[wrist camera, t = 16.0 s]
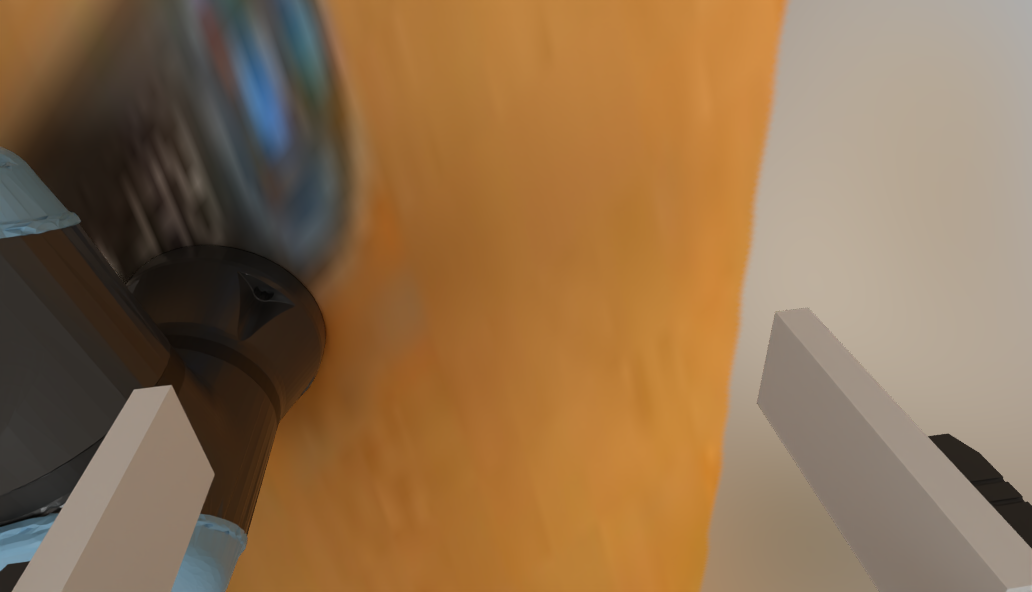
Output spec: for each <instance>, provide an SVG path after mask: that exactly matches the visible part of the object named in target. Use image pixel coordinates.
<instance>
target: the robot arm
mask: <svg viewBox="0 0 1032 592" xmlns="http://www.w3.org/2000/svg"><path fill="white" fill-rule="evenodd" d="M80 222H81V220H80V219H79V217H78V216H77V215H76V214H75V213H74V212H70V211H68V210H67V209H66V208H65V206H64V205H63V204H62V203H61V202H60V201H59V200H58V199H57V197H56V196H55V195H54V194H53V193H52V192H51V191H50V189H49V188H48V187H47V186H46V185H45V184H44V183H43V182H42V180H41V179H40V178H39V177H38V176H37V175H36V173H35V172H34V171H33V170H32V169H31V167H30V166H29V165H28V164H27V163H26V162H25V161H24V160H23V159H22V158H20V157H19V156H18V155H16V154H15V153H13V152H11V151H10V150H8V149H5V148H3V147H0V592H225V591H226V589H227V587H228V584H229V582H230V579H231V576H232V573H233V571H234V568H235V565H236V563H237V560H238V557H239V556H240V555H241V553H242V552H243V551H244V550H245V548H246V544H247V534H248V531H249V527H250V523H251V520H252V516H253V513H254V509H255V506H256V502H257V498H258V495H259V491H260V488H261V484H262V481H263V477H264V473H265V470H266V466H267V463H268V459H269V456H270V452H271V448H272V445H273V441H274V438H275V434H276V430H277V427H278V424H279V421H280V420H281V419H282V418H283V417H284V415H285V414H286V413H287V412H288V410H289V409H290V408H291V407H292V406H293V404H294V403H295V402H296V401H297V400H298V399H299V398H300V397H301V396H302V395H303V394H304V393H305V391H306V390H307V389H308V388H309V387H310V385H311V384H312V382H313V381H314V379H315V377H316V375H317V373H318V370H319V367H320V364H321V360H322V356H323V352H324V347H325V339H326V334H325V325H324V321H323V317H322V315H321V312H320V310H319V308H318V306H317V304H316V302H315V300H314V299H313V297H312V296H311V294H310V293H309V292H308V291H307V289H306V288H305V287H304V286H303V285H302V284H301V283H300V282H299V281H298V280H297V279H296V278H295V277H294V276H292V275H291V274H290V273H289V272H287V271H286V270H284V269H283V268H281V267H280V266H278V265H276V264H275V263H273V262H271V261H269V260H267V259H265V258H263V257H260V256H258V255H255V254H253V253H249V252H246V251H243V250H239V249H235V248H230V247H222V246H191V247H184V248H179V249H175V250H172V251H169V252H166V253H164V254H161V255H159V256H157V257H155V258H153V259H152V260H150V261H149V262H147V263H146V264H144V265H143V266H142V267H141V268H140V269H139V270H138V271H137V272H136V273H135V274H134V275H133V276H132V278H131V279H130V280H129V281H128V283H127V284H126V285H125V284H124V283H123V282H122V280H121V279H120V278H119V276H118V275H117V274H116V272H115V271H114V270H113V268H112V267H111V266H110V264H109V263H108V262H107V260H106V259H105V258H104V256H103V255H102V254H101V252H100V251H99V250H98V248H97V247H96V246H95V244H94V243H93V242H92V240H91V239H90V238H89V236H88V235H87V234H86V232H85V231H84V230H83V228H82V227H81V226H80V224H79V223H80ZM757 404H758V406H759V407H760V409H761V410H762V412H763V413H764V415H765V417H766V418H767V420H768V421H769V423H770V424H771V426H772V427H773V429H774V430H775V432H776V434H777V435H778V437H779V438H780V440H781V441H782V443H783V444H784V446H785V447H786V449H787V451H788V452H789V454H790V455H791V457H792V458H793V460H794V461H795V463H796V464H797V466H798V468H799V469H800V471H801V472H802V474H803V475H804V477H805V478H806V480H807V481H808V483H809V485H810V486H811V487H812V489H813V491H814V492H815V494H816V495H817V497H818V498H819V500H820V501H821V503H822V505H823V506H824V508H825V509H826V511H827V512H828V514H829V515H830V517H831V518H832V520H833V522H834V523H835V525H836V526H837V528H838V529H839V531H840V532H841V534H842V535H843V537H844V538H845V540H846V542H847V543H848V545H849V546H850V548H851V549H852V551H853V552H854V554H855V555H856V557H857V559H858V560H859V562H860V563H861V565H862V566H863V568H864V569H865V571H866V572H867V574H868V575H869V577H870V579H871V580H872V582H873V583H874V585H875V586H876V588H877V589H878V591H879V592H1032V505H1030V503H1029V502H1024V500H1023V499H1022V496H1021V494H1020V493H1019V492H1018V491H1017V490H1016V489H1015V488H1014V487H1013V486H1012V485H1010V483H1009V482H1005V481H1004V480H1003V476H1002V475H1001V474H1000V473H999V472H998V471H997V470H996V469H995V468H994V467H993V466H992V465H991V464H990V463H989V462H988V461H987V460H986V459H985V458H984V457H983V456H982V455H981V454H980V453H979V452H977V451H975V450H974V449H972V448H970V447H969V446H967V445H966V444H964V443H962V442H961V441H959V440H958V439H956V438H954V437H953V436H951V435H950V434H942V435H934V436H927V435H926V434H925V433H924V432H923V431H922V430H921V429H920V428H919V427H918V426H917V424H916V423H915V422H914V421H913V420H912V419H911V418H910V417H909V416H908V415H907V414H906V413H905V411H904V410H903V409H902V408H901V407H900V406H899V405H898V404H897V403H896V402H895V401H894V400H893V399H892V397H891V396H890V395H889V394H888V393H887V392H886V391H885V390H884V389H883V388H882V387H881V386H880V385H879V383H878V382H877V381H876V380H875V379H874V378H873V377H872V376H871V375H870V374H869V373H868V372H867V371H866V369H865V368H864V367H863V366H862V365H861V364H860V363H859V362H858V361H857V360H856V359H855V358H854V357H853V356H852V354H851V353H850V352H849V351H848V350H847V349H846V348H845V347H844V346H843V345H842V344H841V342H840V341H839V340H838V339H837V338H836V337H835V336H834V335H833V334H832V333H831V332H830V331H829V329H828V328H827V327H826V326H825V325H824V324H823V323H822V322H821V321H820V320H819V319H818V318H817V317H816V315H814V313H813V312H812V311H811V310H810V309H809V308H801V309H793V310H785V311H776V312H775V315H774V321H773V325H772V330H771V335H770V340H769V345H768V350H767V355H766V360H765V365H764V370H763V375H762V380H761V385H760V390H759V395H758V400H757Z"/></svg>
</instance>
